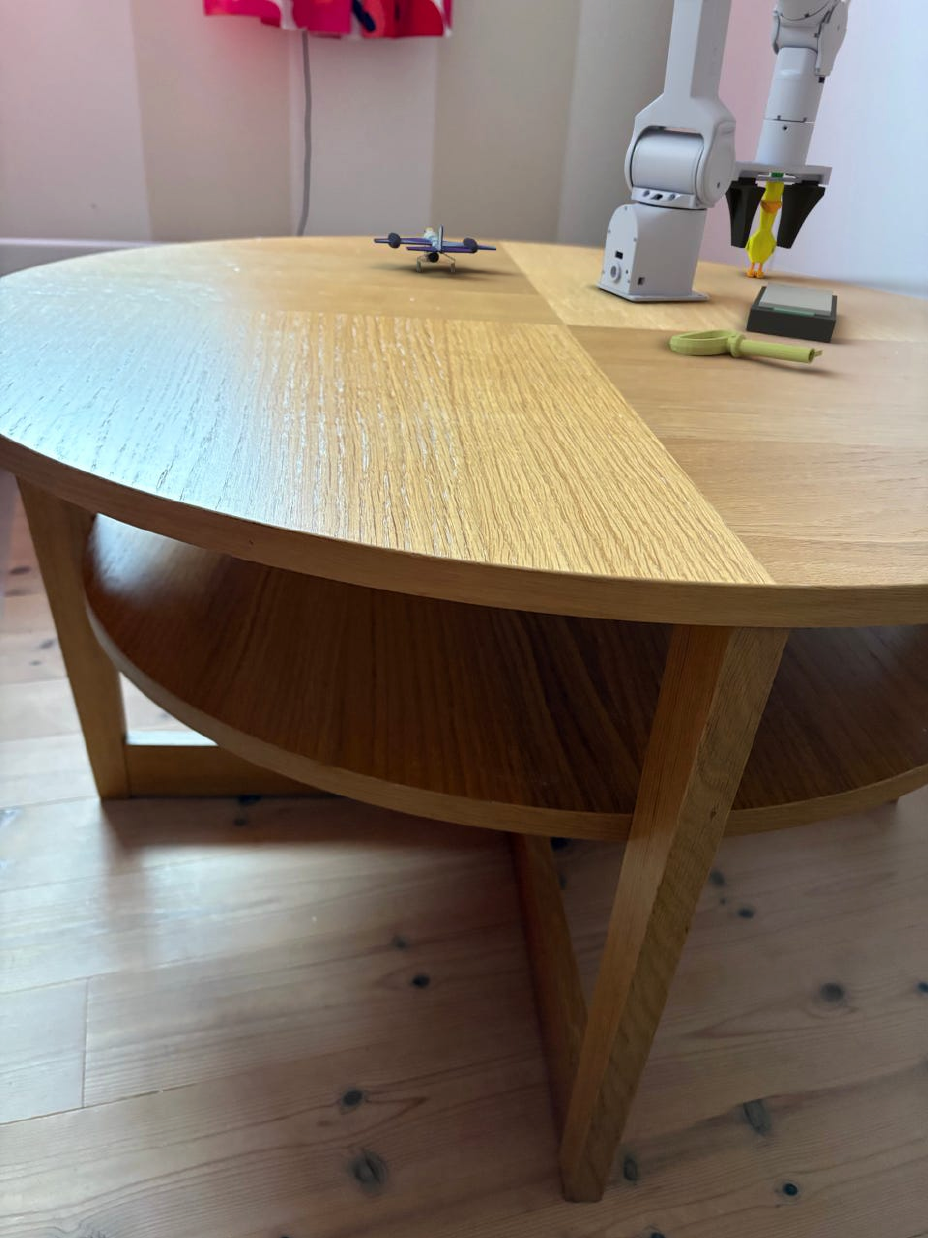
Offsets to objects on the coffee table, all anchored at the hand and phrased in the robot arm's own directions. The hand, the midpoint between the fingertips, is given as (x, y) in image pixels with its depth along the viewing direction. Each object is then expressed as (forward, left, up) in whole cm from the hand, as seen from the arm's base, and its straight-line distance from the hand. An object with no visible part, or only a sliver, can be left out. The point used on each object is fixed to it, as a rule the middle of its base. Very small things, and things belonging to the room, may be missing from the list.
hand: (760, 247), depth 109 cm
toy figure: (0, 0, -4) cm, 4 cm away
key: (-29, -34, -4) cm, 45 cm away
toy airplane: (-41, +6, -4) cm, 42 cm away
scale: (-14, -24, -3) cm, 28 cm away
